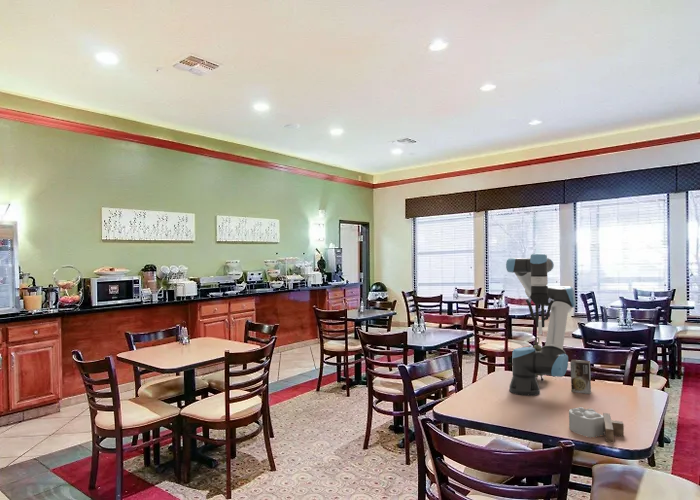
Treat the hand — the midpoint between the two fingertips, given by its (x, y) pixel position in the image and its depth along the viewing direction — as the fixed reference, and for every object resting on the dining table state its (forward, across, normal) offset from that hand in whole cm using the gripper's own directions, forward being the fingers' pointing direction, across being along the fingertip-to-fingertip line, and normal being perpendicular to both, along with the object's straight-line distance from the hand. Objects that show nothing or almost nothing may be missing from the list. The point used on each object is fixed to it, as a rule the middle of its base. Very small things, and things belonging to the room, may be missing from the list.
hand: (540, 333), depth 217 cm
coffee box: (+35, +17, +33) cm, 51 cm away
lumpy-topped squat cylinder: (+35, +18, -28) cm, 48 cm away
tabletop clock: (+35, -5, +48) cm, 60 cm away
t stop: (+34, +28, -27) cm, 52 cm away
